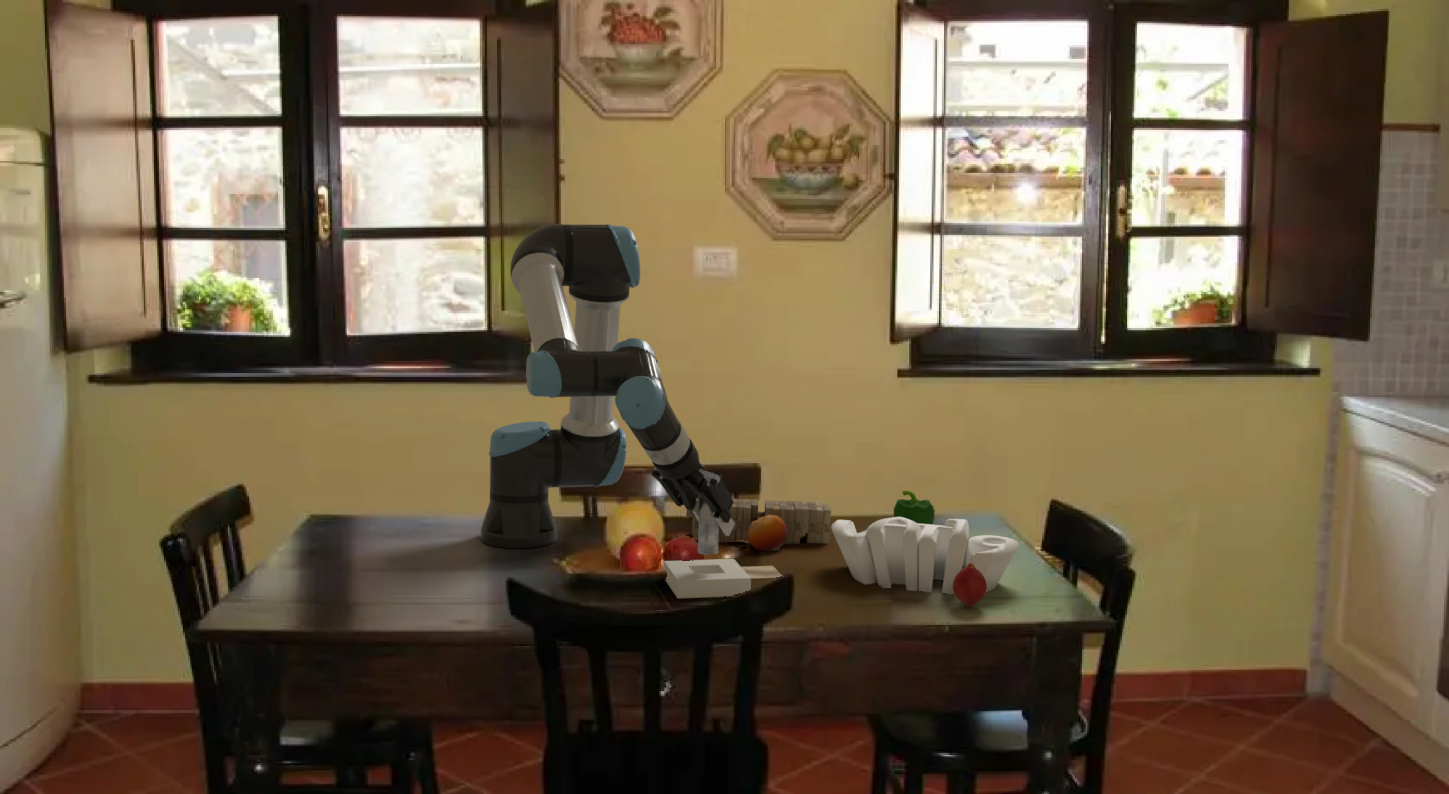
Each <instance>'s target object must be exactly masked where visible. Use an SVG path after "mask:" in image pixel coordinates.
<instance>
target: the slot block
mask: <svg viewBox="0 0 1449 794" xmlns="http://www.w3.org/2000/svg"><path fill="white" fill-rule="evenodd" d="M692 560H693V561H692ZM663 561H664V562H663V570H664V569H665V571H666V572H667V577H666V580H665V582H666V583H667V585H668V587H669V588H670V589H671V591H672V593H673V594H674V596H675V597H676V598H677V599H694V598H695V599H697V598H699V599H701V598H722V597H723V598H725V597H724V596H726V597H734V596H733V595H735V594H738V593H743V592H745V591H749V590H751V589H752V587H751V586H752V579H751V578H750V576H749V575H748V574H747V573H746V572H745V571H744V570H743V569H742V568H741V567H742V566H741V565H740V564H739V563H738V562H737V561H736V560H735V559H734V558H720V559H716V558H715V559H690V561H682V560H663Z"/></svg>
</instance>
